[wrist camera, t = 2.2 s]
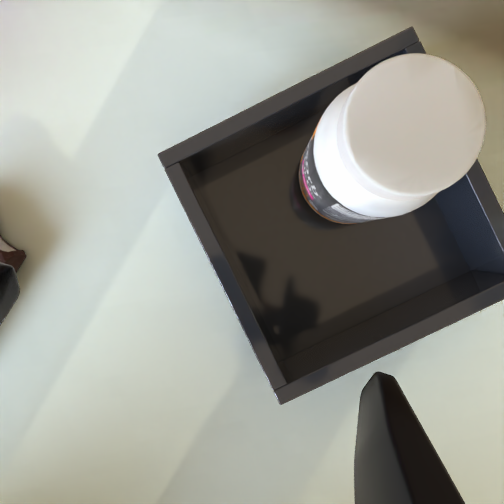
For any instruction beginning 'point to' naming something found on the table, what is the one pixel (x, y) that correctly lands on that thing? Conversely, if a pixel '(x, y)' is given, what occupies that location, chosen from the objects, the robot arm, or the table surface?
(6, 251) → the ice cream bar
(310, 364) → the tray
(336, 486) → the table surface
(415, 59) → the pill bottle
